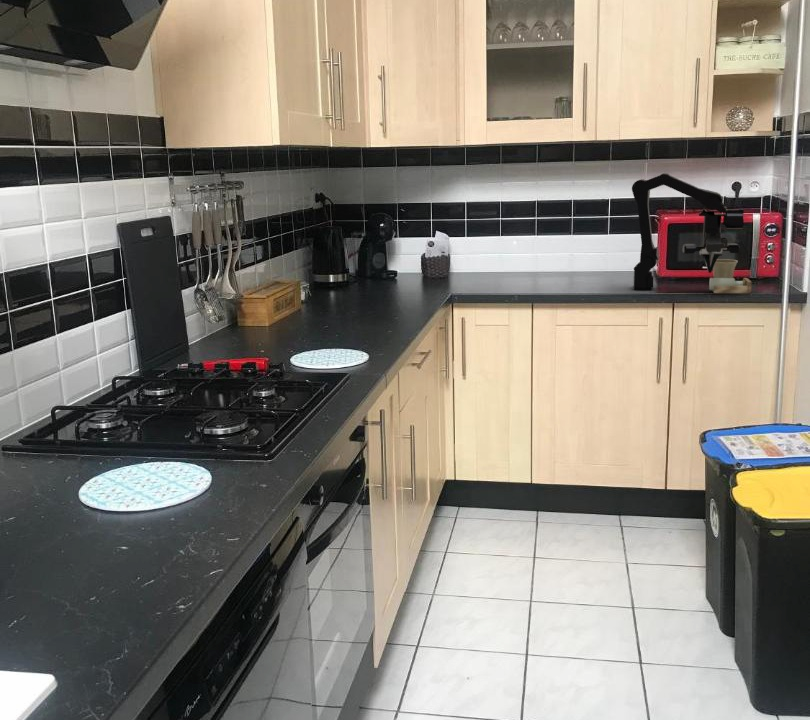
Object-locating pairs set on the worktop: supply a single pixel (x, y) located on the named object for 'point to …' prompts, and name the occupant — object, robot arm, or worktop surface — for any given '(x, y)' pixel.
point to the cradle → (734, 288)
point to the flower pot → (724, 268)
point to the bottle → (724, 282)
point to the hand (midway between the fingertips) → (709, 272)
